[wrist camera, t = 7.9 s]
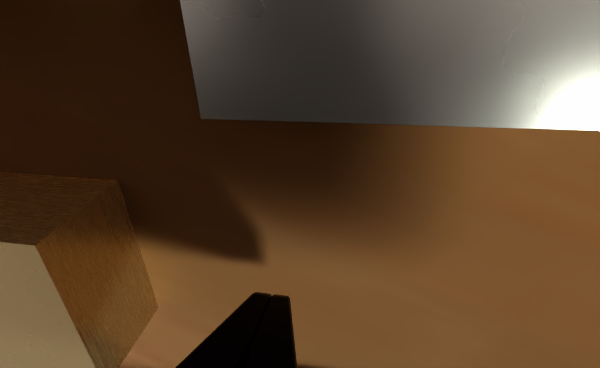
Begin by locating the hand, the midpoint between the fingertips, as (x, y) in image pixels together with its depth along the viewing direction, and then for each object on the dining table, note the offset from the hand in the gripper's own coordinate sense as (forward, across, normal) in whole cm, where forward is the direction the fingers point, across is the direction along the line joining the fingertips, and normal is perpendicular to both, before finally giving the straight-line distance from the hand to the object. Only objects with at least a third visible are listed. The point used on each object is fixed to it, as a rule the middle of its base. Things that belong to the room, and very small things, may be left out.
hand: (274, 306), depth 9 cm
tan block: (+1, +6, 0) cm, 7 cm away
